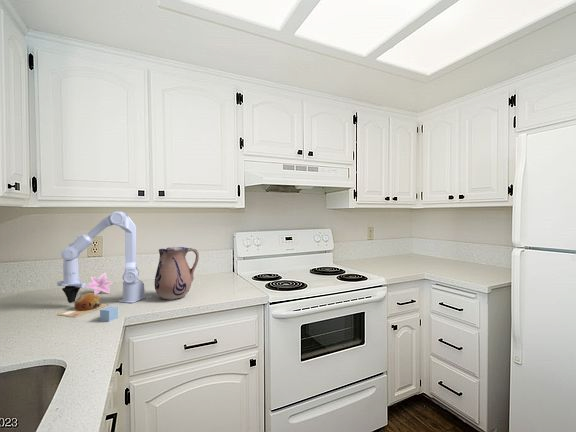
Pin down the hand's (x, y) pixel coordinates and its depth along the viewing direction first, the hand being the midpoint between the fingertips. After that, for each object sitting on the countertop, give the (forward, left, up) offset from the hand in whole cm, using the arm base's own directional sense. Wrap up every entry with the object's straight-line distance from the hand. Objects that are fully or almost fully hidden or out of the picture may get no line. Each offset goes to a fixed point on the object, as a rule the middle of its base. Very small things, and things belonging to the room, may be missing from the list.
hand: (71, 302), depth 138 cm
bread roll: (0, +10, -2) cm, 10 cm away
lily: (-20, -6, -2) cm, 21 cm away
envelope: (+3, +10, -2) cm, 10 cm away
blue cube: (+9, +30, -2) cm, 31 cm away
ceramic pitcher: (-25, +38, -2) cm, 46 cm away
